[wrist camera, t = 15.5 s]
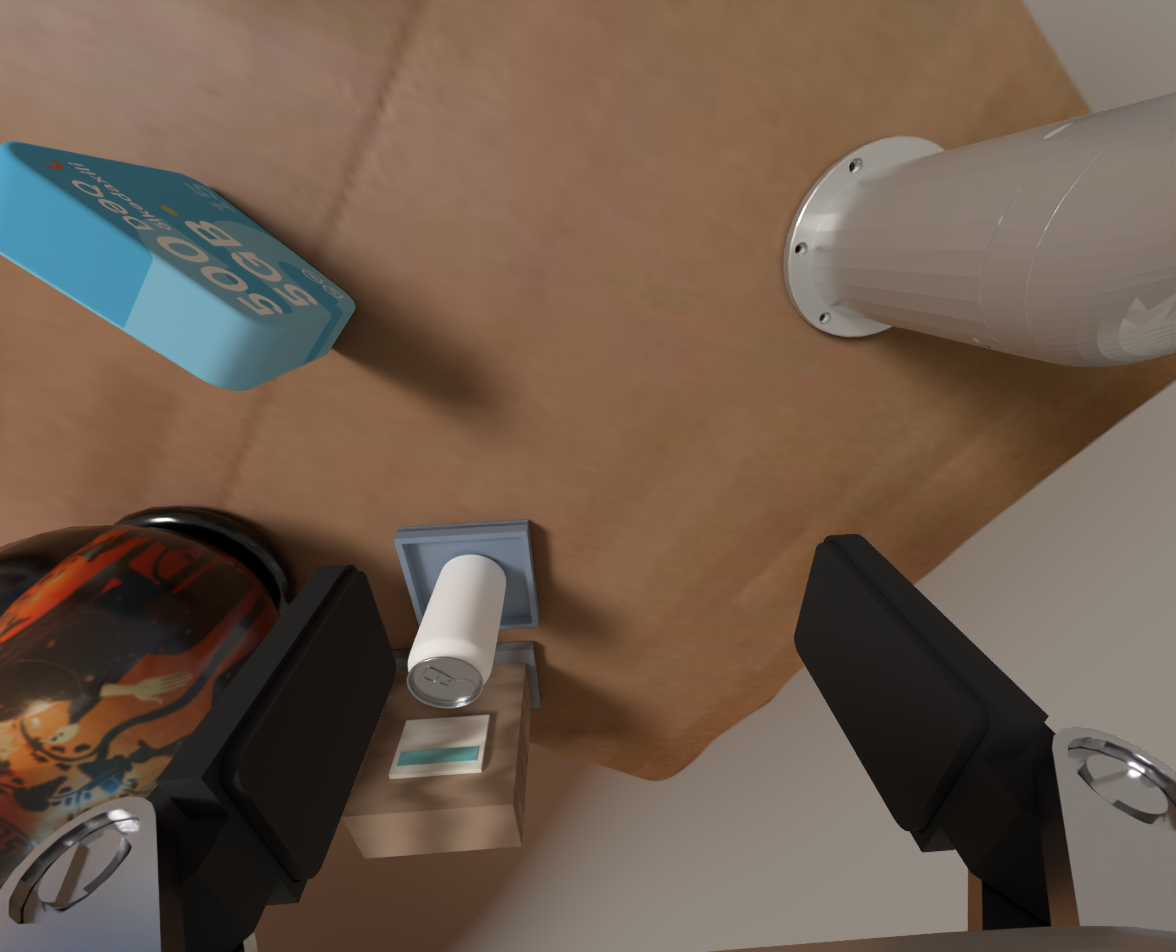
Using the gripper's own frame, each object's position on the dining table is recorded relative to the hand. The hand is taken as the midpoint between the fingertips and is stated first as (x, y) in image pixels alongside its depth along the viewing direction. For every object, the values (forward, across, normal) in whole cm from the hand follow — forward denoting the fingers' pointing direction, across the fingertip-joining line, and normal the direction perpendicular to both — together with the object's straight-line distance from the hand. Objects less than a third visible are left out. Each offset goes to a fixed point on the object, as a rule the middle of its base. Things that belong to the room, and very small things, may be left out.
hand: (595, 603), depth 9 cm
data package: (+28, +21, -6) cm, 36 cm away
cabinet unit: (+28, +14, +37) cm, 49 cm away
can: (+28, +11, +22) cm, 37 cm away
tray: (+28, +11, +22) cm, 37 cm away
